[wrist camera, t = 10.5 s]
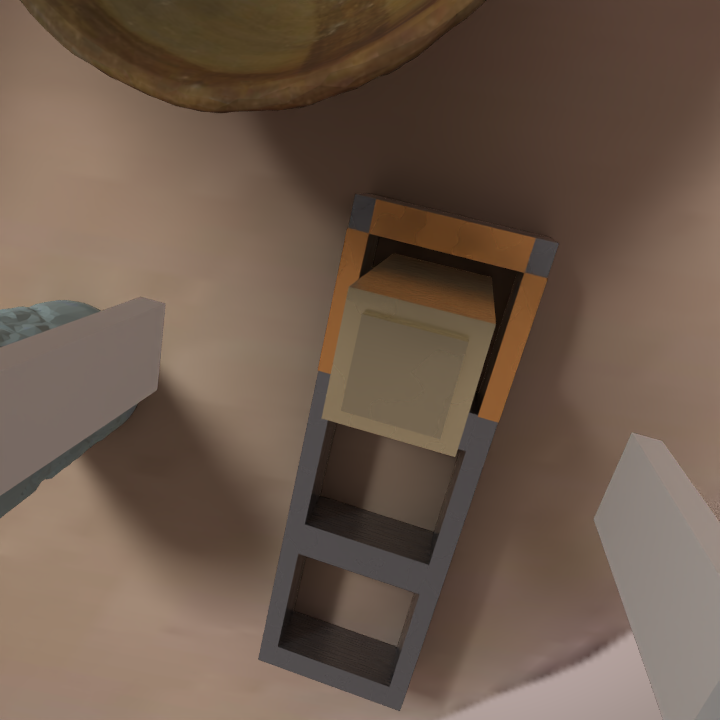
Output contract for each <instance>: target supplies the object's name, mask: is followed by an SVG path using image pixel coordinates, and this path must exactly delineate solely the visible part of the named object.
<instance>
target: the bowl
mask: <svg viewBox="0 0 720 720" xmlns="http://www.w3.org/2000/svg"><path fill="white" fill-rule="evenodd" d="M20 1H21V2H22V3H23V4H24V6H25V7H26V8H27V10H28V11H29V12H30V13H31V15H32V16H33V17H34V18H35V19H36V20H37V21H38V22H39V23H40V24H41V25H42V26H43V27H44V28H45V29H46V30H47V31H48V32H49V33H50V34H51V35H52V36H53V37H54V38H55V39H56V40H57V41H58V42H60V43H61V44H62V45H63V46H64V47H65V48H66V49H68V50H69V51H70V52H71V53H73V54H74V55H75V56H77V57H79V58H81V59H83V60H84V61H86V62H88V63H90V64H91V65H93V66H94V67H96V68H97V69H99V70H100V71H102V72H103V73H105V74H106V75H108V76H109V77H111V78H114V79H116V80H119V81H121V82H123V83H125V84H127V85H129V86H131V87H133V88H135V89H137V90H139V91H141V92H143V93H145V94H147V95H149V96H152V97H155V98H158V99H160V100H162V101H165V102H167V103H170V104H172V105H175V106H179V107H183V108H188V109H193V110H197V111H202V112H213V113H228V112H238V111H264V110H285V109H292V108H298V107H304V106H308V105H311V104H314V103H316V102H319V101H321V100H324V99H326V98H329V97H332V96H335V95H338V94H341V93H344V92H347V91H350V90H353V89H356V88H358V87H360V86H362V85H364V84H366V83H367V82H369V81H371V80H373V79H375V78H376V77H378V76H382V75H387V74H389V73H391V72H393V71H395V70H397V69H398V68H400V67H401V66H402V65H404V64H405V63H407V62H409V61H411V60H412V59H414V58H416V57H418V56H419V55H420V54H421V53H422V52H423V51H425V50H426V49H427V48H428V47H429V46H431V45H432V44H433V43H434V42H435V41H437V40H438V39H439V38H440V37H442V36H443V35H444V34H445V33H447V32H448V31H449V30H450V29H452V28H453V27H454V26H456V25H457V24H459V23H460V22H462V21H463V20H465V19H466V18H467V17H469V16H470V15H471V14H472V13H473V12H474V11H475V10H476V9H477V8H478V7H480V6H481V5H482V4H483V3H484V2H485V1H486V0H20Z"/></svg>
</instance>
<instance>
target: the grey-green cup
mask: <svg viewBox="0 0 720 720" xmlns="http://www.w3.org/2000/svg"><path fill="white" fill-rule="evenodd" d="M97 312H100V310H98V309H96V308H95V307H93V306H90V305H88V304H85V303H81V302H75V301H67V300H57V301H50V302H44V303H39V304H35V305H33V306H31V307H29V308H28V307H16V308H11V309H9V308H8V309H2V310H0V347H1V346H6V345H9V344H11V343H14V342H17V341H20V340H22V339H25V338H28V337H31V336H34V335H36V334H39V333H42V332H45V331H47V330H50V329H53V328H56V327H58V326H61V325H64V324H67V323H69V322H72V321H75V320H78V319H81V318H83V317H86V316H89V315H92V314H94V313H97ZM137 404H138V403H137ZM137 404H136V405H134V406H133V407H131V408H130V409H128V410H127V411H125V412H124V413H122V414H121V415H119V416H118V417H116V418H115V419H114V420H112V421H111V422H109V423H108V424H106V425H105V426H103V427H102V428H100V429H99V430H97V431H96V432H94V433H93V434H91V435H90V436H88V437H87V438H85V439H84V440H82V441H81V442H79V443H78V444H76V445H75V446H73V447H72V448H70V449H69V450H67V451H66V452H65V453H63V454H62V455H60V456H59V457H57V458H56V459H54V460H53V461H51V462H50V463H48V464H47V465H45V466H44V467H42V468H41V469H39V470H38V471H36V472H35V473H33V474H32V475H30V476H29V477H27V478H26V479H24V480H23V481H21V482H20V483H18V484H17V485H16V486H14V487H13V488H11V489H10V490H8V491H7V492H5V493H4V494H2V495H1V496H0V518H1V517H2V516H4V515H5V514H6V513H7V512H9V511H10V510H11V509H13V508H14V507H15V506H17V505H18V504H19V503H21V502H22V501H23V500H24V499H26V498H27V497H28V496H30V495H31V494H32V493H33V492H34V491H36V489H37V487H38V486H39V484H40V483H41V482H42V481H43V480H45V479H51V478H53V477H54V476H55V475H56V474H58V473H59V472H60V471H61V470H62V469H64V468H65V467H67V466H68V465H70V464H71V463H72V462H73V461H74V460H75V459H77V458H79V457H80V456H81V455H82V454H83V453H84V452H85V451H86V450H87V449H88V448H91V447H92V446H93V445H94V444H95V443H97V442H98V441H101V440H103V439H104V438H105V437H106V436H108V435H109V434H110V433H111V432H113V431H114V430H115V429H117V428H118V427H119V426H121V425H122V424H123V423H124V422H125V421H126V420H127V419H128V418H129V417H130V416H131V414H132V413H133V411H134V410H135V408H136V406H137Z"/></svg>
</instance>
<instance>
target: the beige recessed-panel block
mask: <svg viewBox="0 0 720 720" xmlns="http://www.w3.org/2000/svg"><path fill="white" fill-rule="evenodd" d="M495 326H496V319H495V309H494V298H493V287H492V277H489V276H485V275H481V274H477V273H473V272H469V271H465V270H461V269H457V268H452V267H448V266H444V265H440V264H436V263H432V262H428V261H424V260H420V259H416V258H412V257H407V256H403V255H399V254H395V253H393V254H392V255H390V256H389V257H388V258H386V259H385V260H384V261H382V262H381V263H380V264H378V265H377V266H376V267H374V268H373V269H372V270H370V271H369V272H368V273H366V274H365V275H364V276H362V277H361V278H360V279H358V280H357V281H356V282H354V283H353V284H351V285H350V286H349V287H348V292H347V297H346V302H345V307H344V312H343V317H342V321H341V326H340V331H339V336H338V341H337V346H336V351H335V355H334V360H333V365H332V370H331V375H330V380H329V385H328V389H327V394H326V399H325V404H324V409H323V414H322V419H325V420H329V421H332V422H336V423H339V424H343V425H346V426H349V427H353V428H356V429H360V430H363V431H367V432H370V433H374V434H377V435H380V436H384V437H387V438H391V439H394V440H398V441H401V442H405V443H408V444H411V445H415V446H418V447H422V448H425V449H429V450H432V451H436V452H439V453H442V454H446V455H449V456H453V457H456V453H457V450H458V447H459V444H460V440H461V437H462V434H463V431H464V427H465V424H466V421H467V417H468V414H469V411H470V408H471V404H472V401H473V398H474V395H475V391H476V388H477V385H478V381H479V378H480V375H481V372H482V368H483V365H484V362H485V359H486V355H487V352H488V349H489V345H490V342H491V339H492V336H493V332H494V329H495Z"/></svg>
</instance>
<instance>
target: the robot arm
mask: <svg viewBox="0 0 720 720" xmlns="http://www.w3.org/2000/svg"><path fill="white" fill-rule="evenodd" d="M165 304H166V303H162V302H158V301H155V300H151V299H148V298H144V297H139V298H136V299H133V300H130V301H128V302H125V303H122V304H119V305H117V306H114V307H111V308H108V309H105V310H103V311H100V312H97V313H94V314H92V315H89V316H86V317H83V318H81V319H78V320H75V321H72V322H69V323H67V324H64V325H61V326H58V327H56V328H53V329H50V330H47V331H45V332H42V333H39V334H36V335H34V336H31V337H28V338H25V339H22V340H20V341H17V342H14V343H11V344H9V345H6V346H1V347H0V496H1V495H2V494H4V493H5V492H7V491H8V490H10V489H11V488H13V487H14V486H16V485H17V484H18V483H20V482H21V481H23V480H24V479H26V478H27V477H29V476H30V475H32V474H33V473H35V472H36V471H38V470H39V469H41V468H42V467H44V466H45V465H47V464H48V463H50V462H51V461H53V460H54V459H56V458H57V457H59V456H60V455H62V454H63V453H65V452H66V451H67V450H69V449H70V448H72V447H73V446H75V445H76V444H78V443H79V442H81V441H82V440H84V439H85V438H87V437H88V436H90V435H91V434H93V433H94V432H96V431H97V430H99V429H100V428H102V427H103V426H105V425H106V424H108V423H109V422H111V421H112V420H114V419H115V418H116V417H118V416H119V415H121V414H122V413H124V412H125V411H127V410H128V409H130V408H131V407H133V406H134V405H136V404H137V403H139V402H140V401H142V400H143V399H145V398H146V397H148V396H149V395H151V394H152V393H154V392H155V391H157V388H158V378H159V367H160V357H161V346H162V336H163V325H164V314H165ZM594 522H595V525H596V528H597V530H598V533H599V536H600V539H601V542H602V545H603V548H604V551H605V554H606V557H607V559H608V562H609V565H610V568H611V571H612V574H613V577H614V580H615V583H616V585H617V588H618V591H619V594H620V597H621V600H622V603H623V606H624V609H625V611H626V614H627V617H628V620H629V623H630V626H631V629H632V632H633V635H634V638H635V640H636V643H637V646H638V649H639V652H640V655H641V658H642V660H643V664H644V666H645V669H646V672H647V675H648V678H649V681H650V684H651V687H652V689H653V692H654V695H655V698H656V701H657V704H658V707H659V710H660V712H661V716H662V718H663V720H720V522H719V521H718V519H717V518H716V516H715V515H714V513H713V512H712V511H711V509H710V508H709V506H708V505H707V504H706V502H705V501H704V499H703V498H702V496H701V495H700V494H699V492H698V491H697V489H696V488H695V487H694V485H693V484H692V482H691V481H690V479H689V478H688V477H687V475H686V474H685V472H684V471H683V470H682V468H681V467H680V465H679V464H678V463H677V461H676V460H675V458H674V457H673V455H672V454H671V453H670V451H669V450H668V448H667V447H666V446H665V444H664V443H663V441H661V440H658V439H654V438H651V437H647V436H643V435H640V434H636V433H631V435H630V438H629V440H628V442H627V444H626V447H625V449H624V451H623V454H622V456H621V458H620V460H619V463H618V465H617V467H616V469H615V472H614V474H613V476H612V478H611V481H610V483H609V485H608V487H607V490H606V492H605V494H604V496H603V499H602V501H601V503H600V506H599V508H598V510H597V512H596V515H595V517H594Z"/></svg>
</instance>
